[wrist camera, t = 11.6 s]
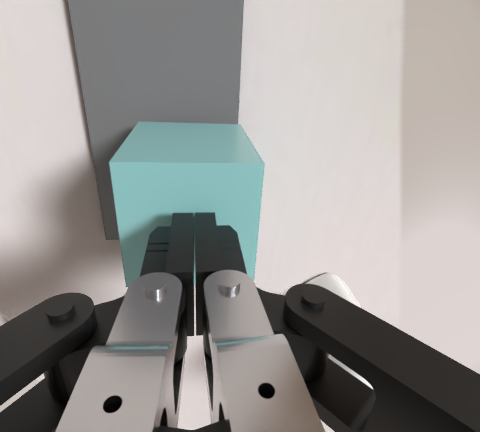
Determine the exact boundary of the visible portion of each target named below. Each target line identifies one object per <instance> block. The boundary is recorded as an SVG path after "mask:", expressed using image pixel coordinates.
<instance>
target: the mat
mask: <svg viewBox="0 0 480 432" xmlns="http://www.w3.org/2000/svg"><path fill="white" fill-rule="evenodd" d="M68 5H69V12H70V18H71V24H72V30H73V37H74V43H75V49H76V55H77V61H78V68H79V74H80V80H81V86H82V92H83V99H84V105H85V111H86V117H87V124H88V130H89V136H90V142H91V148H92V155H93V161H94V167H95V173H96V179H97V186H98V192H99V198H100V204H101V211H102V217H103V223H104V229H105V235H106V240H115V239H120V238H119V231H118V224H117V216H116V209H115V202H114V194H113V187H112V180H111V172H110V165H109V161H110V160H111V159H112V157H113V156H114V155H115V153H116V152H117V151H118V149H119V148H120V146H121V145H122V144H123V142H124V141H125V140H126V138H127V137H128V135H129V134H130V133H131V131H132V130H133V129H134V127H135V126H136V125H137V123H138V122H176V123H212V124H238V112H239V90H240V69H241V48H242V26H243V5H244V0H68Z"/></svg>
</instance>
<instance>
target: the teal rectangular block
mask: <svg viewBox="0 0 480 432" xmlns="http://www.w3.org/2000/svg"><path fill="white" fill-rule="evenodd" d="M109 165H110V172H111V180H112V187H113V194H114V202H115V209H116V216H117V224H118V231H119V238H120V246H121V253H122V260H123V268H124V275H125V282H126V287H129V285H130V284H131V283H132V282H133V281H134V280H135V279H137V278H138V277H140V273H141V268H142V264H143V260H144V256H145V252H146V247H147V243H148V239H149V234H150V233H151V232H152V231H153V230H154V229H155V228H157V227H161V226H171V221H172V214H173V213H193V237H194V284H196V274H195V212H215V217H216V224H217V225H230V226H231V227H232V228H233V229H234V230H235V231H236V232H237V234H238V238H239V242H240V246H241V251H242V255H243V259H244V263H245V267H246V272H247V275H248V276H249V277H251V278H252V280H253V281H254V274H255V263H256V252H257V241H258V230H259V219H260V208H261V197H262V186H263V175H264V162H263V160H262V159H261V157H260V156H259V154H258V152H257V151H256V149H255V147H254V146H253V144H252V142H251V141H250V139H249V138H248V136H247V134H246V133H245V131H244V129H243V128H242V126H241V125H240V124H212V123H176V122H138V123H137V125H136V126H135V127H134V129H133V130H132V131H131V133H130V134H129V135H128V137H127V138H126V140H125V141H124V142H123V144H122V145H121V146H120V148H119V149H118V151H117V152H116V153H115V155H114V156H113V157H112V159H111V160H110V161H109Z"/></svg>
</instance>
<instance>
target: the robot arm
mask: <svg viewBox="0 0 480 432" xmlns="http://www.w3.org/2000/svg"><path fill="white" fill-rule="evenodd" d="M195 274H196V336H197V335H203V344H204V367H205V375H206V383H207V391H208V399H209V408H210V416H211V424H210V425H207V426H205V427H202V428H199V429H196V430H184V429H179V428H177V426H178V416H179V407H180V399H181V390H182V381H183V373H184V364H185V352H186V349H187V336H194V237H193V213H173V214H172V221H171V226H161V227H157V228H155V229H154V230H153V231H152V232H151V233H150V234H149V239H148V243H147V247H146V252H145V256H144V260H143V264H142V268H141V273H140V277H138V278H137V279H135V280H134V281H133V282H132V283H131V284H130V285H129V287H128V289H127V292H126V294H125V296H123V297H121V298H118V299H116V300H113V301H109V302H105V303H102V304H98V305H94V303H93V301H92V299H91V298H90V297H88V296H87V295H84V294H81V293H65V294H60V295H57V296H54V297H51V298H49V299H47V300H45V301H43V302H41V303H40V304H38V305H36V306H34V307H33V308H31V309H29V310H28V311H26V312H24V313H22V314H21V315H19V316H17V317H15V318H14V319H12V320H10V321H9V322H7V323H5V324H3V325H2V326H0V405H2V404H3V403H4V402H6V401H7V400H8V399H10V398H11V397H12V396H13V395H15V394H16V393H18V392H19V391H20V390H22V389H23V388H24V387H26V386H27V385H28V384H29V383H31V382H32V381H33V380H35V379H36V378H37V377H39V376H40V375H41V374H43V373H44V376H45V378H44V379H43V380H42V381H41V382H39V383H38V384H37V385H36V386H34V387H33V388H32V389H30V390H29V391H28V392H26V393H25V394H24V395H22V396H21V397H20V398H19V399H17V400H16V401H15V402H13V403H12V404H11V405H10V406H8V407H7V408H6V409H4V410H3V411H2V412H0V432H325V430H324V428H323V425H322V423H321V420H322V421H323V422H324V423H325V424H326V425H328V426H329V427H330V428H331V429H332V430H334V431H335V432H480V374H478V373H476V372H474V371H473V370H471V369H469V368H467V367H465V366H464V365H462V364H460V363H458V362H457V361H455V360H453V359H451V358H449V357H448V356H446V355H444V354H442V353H440V352H439V351H437V350H435V349H433V348H431V347H430V346H428V345H426V344H424V343H423V342H421V341H419V340H417V339H415V338H414V337H412V336H410V335H408V334H406V333H404V332H403V331H401V330H399V329H397V328H396V327H394V326H392V325H390V324H389V323H387V322H385V321H383V320H381V319H380V318H378V317H376V316H374V315H372V314H371V313H369V312H367V311H365V310H363V309H362V308H360V307H358V306H356V305H355V304H353V303H351V302H349V301H347V300H346V299H344V298H342V297H340V296H338V295H337V294H335V293H333V292H331V291H329V290H328V289H326V288H324V287H321V286H319V285H315V284H298V285H295V286H293V287H291V288H290V289H289V290H288V291H287V293H286V296H284V295H278V294H273V293H269V292H266V291H263V290H261V289H259V288H257V287H256V286H255V283H254V281H253V280H252V278H251V277H249V276H248V275H247V272H246V267H245V263H244V259H243V255H242V251H241V246H240V242H239V238H238V234H237V232H236V231H235V230H234V229H233V228H232V227H231V226H230V225H217V224H216V217H215V212H195ZM329 354H330V355H331V356H333V357H334V358H335V359H337V360H338V361H340V362H341V363H343V364H344V365H345V366H347V367H348V368H350V369H351V370H353V371H354V372H356V373H357V374H358V375H360V376H361V377H363V378H364V379H365V380H366V381H368V382H369V384H370V385H371V386H372V388H373V389H374V390H373V389H372V388H370V387H369V386H367V385H366V384H365V383H363V382H362V381H360V380H359V379H358V378H356V377H355V376H353V375H352V374H350V373H349V372H348V371H346V370H345V369H343V368H342V367H340V366H339V365H338V364H336V363H335V362H333V361H332V360H331V359H329V358H328V356H329ZM320 419H321V420H320Z"/></svg>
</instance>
